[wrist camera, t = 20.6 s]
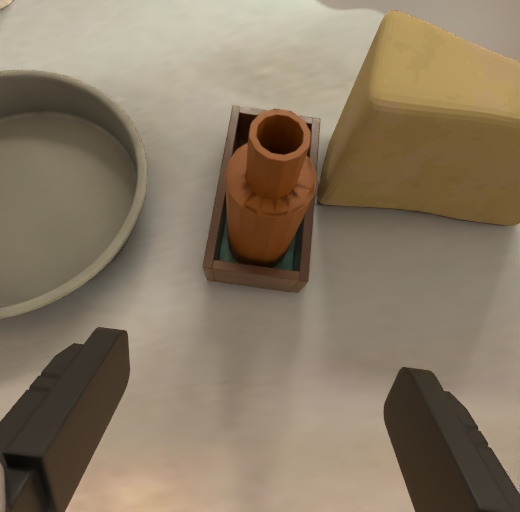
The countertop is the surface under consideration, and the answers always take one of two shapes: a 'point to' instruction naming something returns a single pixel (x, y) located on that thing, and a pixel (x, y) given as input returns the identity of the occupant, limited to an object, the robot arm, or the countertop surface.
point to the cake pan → (62, 186)
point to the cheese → (428, 128)
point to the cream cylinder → (4, 3)
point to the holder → (217, 251)
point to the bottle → (269, 188)
